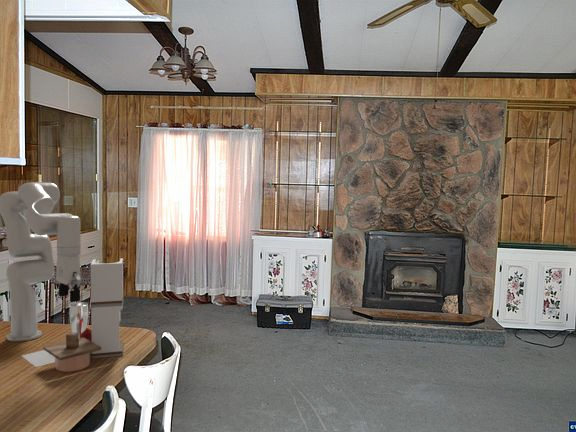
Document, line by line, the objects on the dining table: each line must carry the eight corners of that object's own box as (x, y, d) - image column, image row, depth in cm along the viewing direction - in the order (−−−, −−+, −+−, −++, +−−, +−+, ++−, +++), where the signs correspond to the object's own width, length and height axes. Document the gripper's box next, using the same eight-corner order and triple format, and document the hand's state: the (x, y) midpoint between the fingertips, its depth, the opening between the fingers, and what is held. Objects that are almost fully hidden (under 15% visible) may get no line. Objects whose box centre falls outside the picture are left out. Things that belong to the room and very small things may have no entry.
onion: (97, 344, 186) (97, 324, 186) (94, 349, 181) (93, 329, 180) (82, 345, 185) (81, 325, 185) (78, 350, 180) (77, 329, 179)
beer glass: (81, 344, 187) (81, 307, 185) (66, 342, 188) (65, 305, 187) (92, 338, 193) (91, 302, 192) (77, 337, 195) (76, 301, 194)
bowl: (50, 366, 164) (50, 349, 163) (81, 358, 172) (81, 342, 171) (63, 375, 157) (63, 358, 156) (95, 366, 164) (94, 349, 164)
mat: (20, 356, 172) (20, 355, 172) (62, 346, 183) (62, 345, 183) (36, 368, 162) (36, 367, 162) (79, 356, 173) (79, 355, 173)
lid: (43, 349, 163) (43, 334, 163) (83, 340, 174) (83, 325, 173) (60, 360, 154) (59, 344, 154) (101, 349, 164) (101, 334, 164)
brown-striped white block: (122, 356, 174) (121, 263, 172) (92, 359, 171) (90, 264, 168) (123, 346, 185) (122, 258, 183) (94, 348, 182) (93, 259, 179)
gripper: (48, 248, 168) (48, 295, 169) (68, 255, 156) (68, 305, 158) (69, 246, 173) (70, 292, 175) (90, 253, 161) (90, 301, 163)
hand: (69, 298), depth 166 cm, fingers open, 9 cm apart
